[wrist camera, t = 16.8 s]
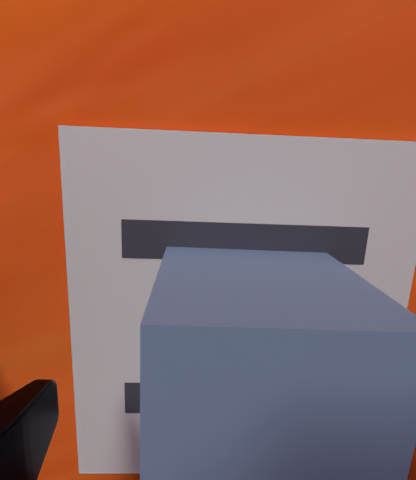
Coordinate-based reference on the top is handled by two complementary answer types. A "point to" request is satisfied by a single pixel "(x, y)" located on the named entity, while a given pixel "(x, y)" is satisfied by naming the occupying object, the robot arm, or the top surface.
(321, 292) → the slate blue cube
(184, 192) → the letter card
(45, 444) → the robot arm
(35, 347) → the top surface
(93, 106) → the top surface
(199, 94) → the top surface
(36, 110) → the top surface
